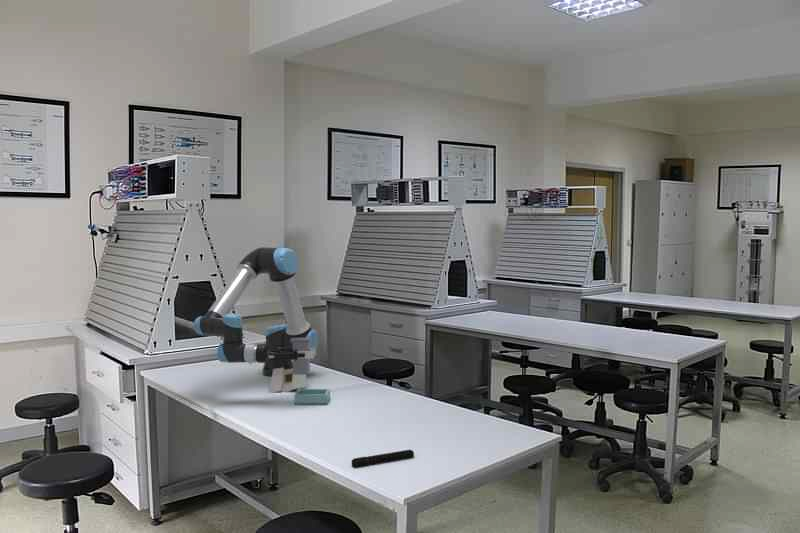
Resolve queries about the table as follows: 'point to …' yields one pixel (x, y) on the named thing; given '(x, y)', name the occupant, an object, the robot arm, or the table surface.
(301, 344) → the brushed metal pillar
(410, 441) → the table surface
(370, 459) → the gadget
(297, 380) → the wall
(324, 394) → the tray
